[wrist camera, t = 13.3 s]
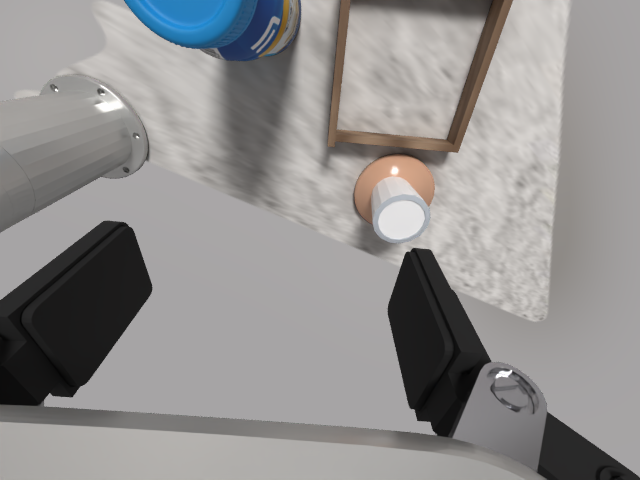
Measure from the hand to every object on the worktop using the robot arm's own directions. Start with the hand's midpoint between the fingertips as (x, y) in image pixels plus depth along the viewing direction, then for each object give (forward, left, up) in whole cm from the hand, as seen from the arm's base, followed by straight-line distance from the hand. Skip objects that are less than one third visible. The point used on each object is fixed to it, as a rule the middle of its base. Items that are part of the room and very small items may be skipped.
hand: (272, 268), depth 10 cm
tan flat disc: (+12, -10, -30) cm, 34 cm away
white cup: (+12, -10, -29) cm, 33 cm away
